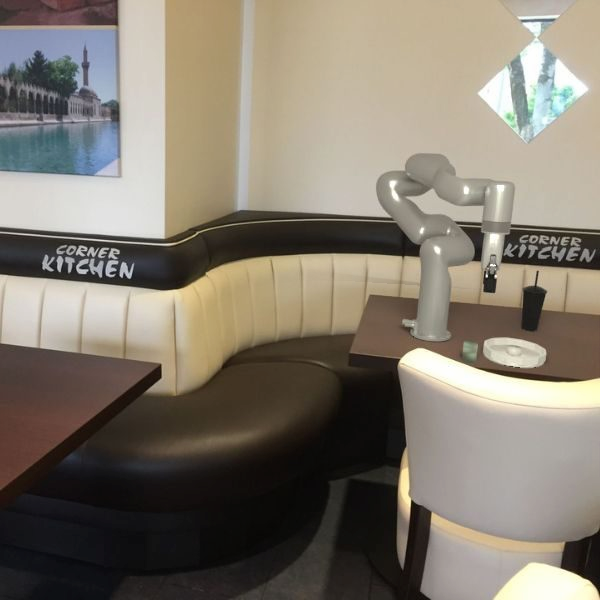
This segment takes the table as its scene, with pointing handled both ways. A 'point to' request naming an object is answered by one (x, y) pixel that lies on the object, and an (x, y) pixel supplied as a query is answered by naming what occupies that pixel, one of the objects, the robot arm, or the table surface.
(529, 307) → the drinking cup
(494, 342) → the ring tray
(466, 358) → the bead
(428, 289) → the robot arm
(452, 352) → the table surface
